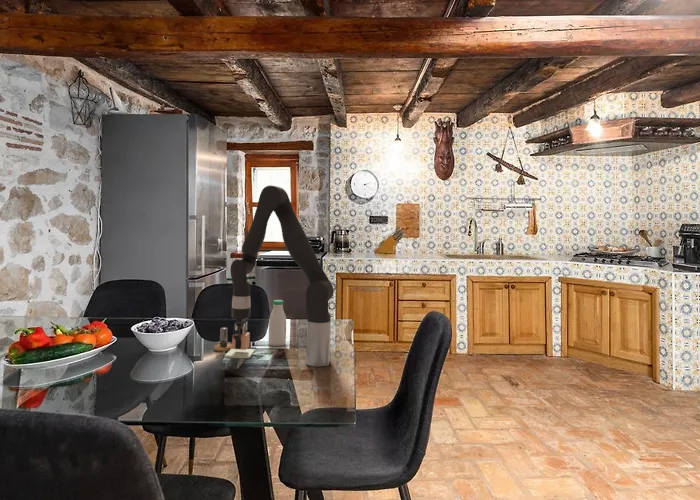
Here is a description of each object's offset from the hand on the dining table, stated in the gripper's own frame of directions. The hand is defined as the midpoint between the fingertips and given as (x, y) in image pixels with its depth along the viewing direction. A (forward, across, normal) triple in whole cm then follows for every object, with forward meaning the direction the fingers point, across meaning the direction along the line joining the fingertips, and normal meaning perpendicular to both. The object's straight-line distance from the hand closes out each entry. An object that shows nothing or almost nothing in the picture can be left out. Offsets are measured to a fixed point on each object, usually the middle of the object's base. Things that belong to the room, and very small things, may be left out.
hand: (240, 346), depth 180 cm
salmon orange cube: (+1, 0, 0) cm, 1 cm away
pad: (+3, 0, 0) cm, 3 cm away
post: (+3, +6, +9) cm, 11 cm away
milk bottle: (+4, +17, -12) cm, 21 cm away
